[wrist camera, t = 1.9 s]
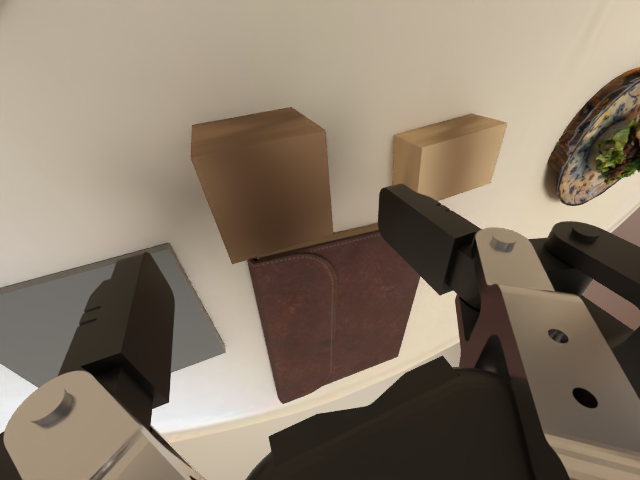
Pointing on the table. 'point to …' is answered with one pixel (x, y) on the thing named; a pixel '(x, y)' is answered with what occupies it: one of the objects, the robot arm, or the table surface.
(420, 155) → the oak block
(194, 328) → the coaster
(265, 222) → the walnut block
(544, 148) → the table surface
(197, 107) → the table surface
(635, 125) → the burger
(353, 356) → the notebook
